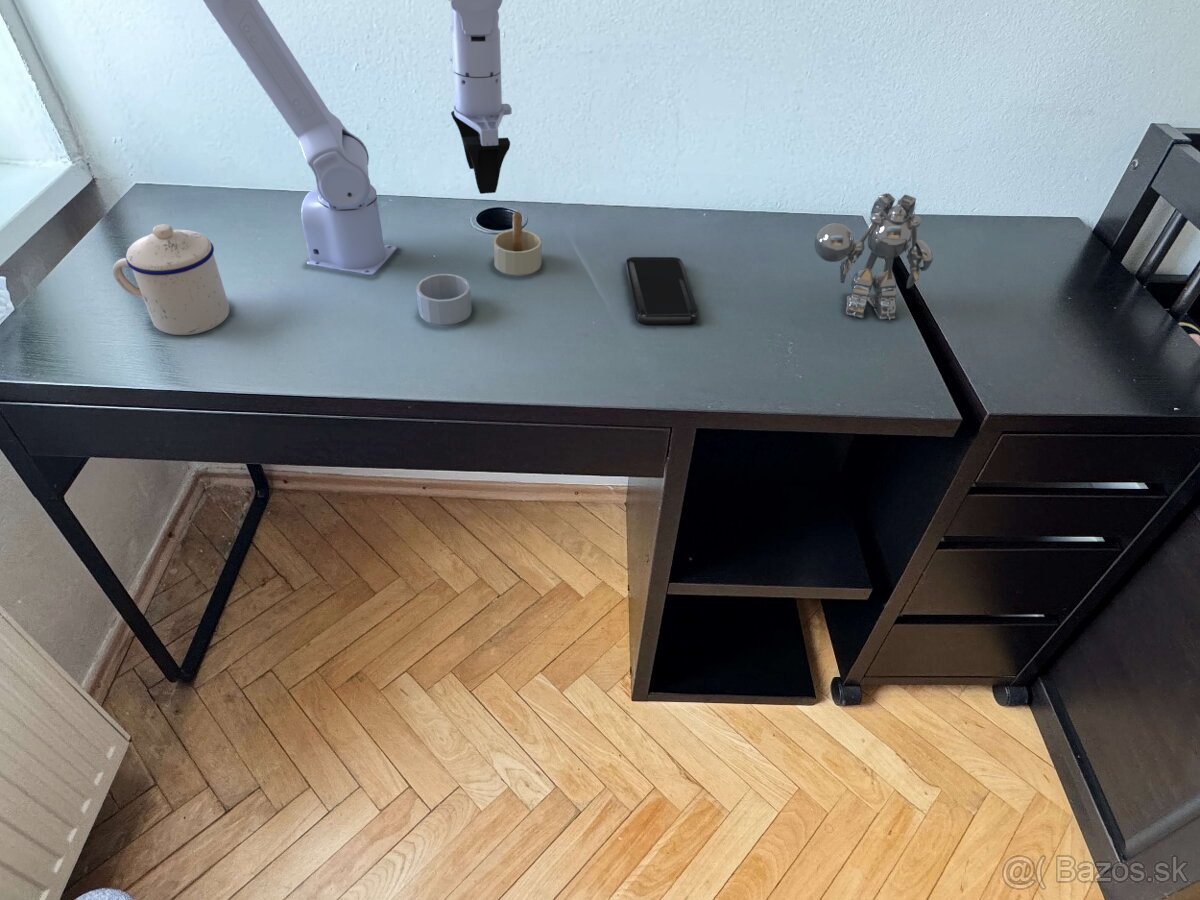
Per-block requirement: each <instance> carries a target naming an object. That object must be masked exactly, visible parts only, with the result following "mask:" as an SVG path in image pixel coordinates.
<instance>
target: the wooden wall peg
mask: <svg viewBox="0 0 1200 900" xmlns="http://www.w3.org/2000/svg"><path fill="white" fill-rule="evenodd" d="M512 230H513V251H522V230H523V215H522V213H521V212H520V211H515V212H513V214H512Z"/></svg>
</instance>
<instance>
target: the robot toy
mask: <svg viewBox="0 0 1200 900" xmlns="http://www.w3.org/2000/svg"><path fill="white" fill-rule="evenodd" d="M916 201H917V198H916V197H914V196H912V195H908V194H903V195H902V197H901V198H898V199H897V202H896V198H895V197H894V196H892V194H890V193H888V192H886V193H883V194H880V195H879V196H878V197H877V199H875V200H874V202H873V204H872V205H873V206H872V208H871V211H870V217H869V220H870V223H869V225H868V226H867V228H866V230H865V231H864V232H863V234H862V235H861V237H860V239H856V240H855V239H854V235H853V232H852V230H851V229H850V228H849V227H848V226H846V225H844V224H842V223H838V222H836V223H835V222H833V223H829V224H826V225H825V226H823V227H822V228H821V229H819V230H818V232H817V234H816V236H815V239H814V251H815V253H816V254H817V255H818V256H819V258H820V259H822V260H823V261H825V262H829V263H837V262H840V261H841V263H840V265H839V280H840V281H839V282H840V283H841V284H845V282H846V278H847V275H848V273H849V272H850V271H851V269H852V266H853V264H855V263H856V262H857V260H858V259H859V258H860V257H861V256H862V255H863V253H864V250H865V246H866V245H865V241H866V239H867V247H868V249H869V250H870V254H869V256H868V258H867V260H866V263H865V265H864V268H861V269H859V270H858V271H856V272H855V273H854V274H853V277H852V280H851V282H850V286H851V290H852V293H850V294H849V295H847V296H846V306H845V314H846V315H847V316H850V317H851V316H852V317H856V318H859V319H864V318H865V309H866V306H867V302H868V303H869V305H870V306H871V307H873V310H874V313H875V314H876V316H877V317H878V320H894V319H896V316H895V315H896V310H897V305H896V298H897V297H896V296H897V280H896V277H895V274H894V272H893V264H894V259H895V258H898V257H900V256H901V255H902V254H903V253H906V252H907V254H906V259H907V261H908V264H909V271H910V273H909V276H908V278H907V280H906V289H911V288H912V287H913V286H914V284H915V283H916V281H919V280H920V273H921V272H925V271H927V270H928V269H929V268H930V266H931V264H932V263H933V252H932V250H931V248H930V246H929V245H928V244H927V243H926V242H925V241H923V240H922V239H918V228H919V226H921V223H922V218H921V217H920V216H918V215H916V211H915V210H916V207H917V205H918V203H916ZM895 202H896V204H895ZM910 245H911V246H910ZM878 259H882V260H885V261H884V266H883V270H882V271H879V272H878V273H877V274H875V275H874V276H873V272H872V271H873V268H874V266H875V263H876V262H877V260H878ZM842 260H843V261H842ZM872 288H873V291H874V294H873V295H871V296H869V295H870V292H871V290H872Z"/></svg>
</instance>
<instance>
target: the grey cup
mask: <svg viewBox="0 0 1200 900" xmlns="http://www.w3.org/2000/svg"><path fill="white" fill-rule="evenodd" d="M471 296H472V295H471V284H470V282H469V281H468V280H467V279H466V278H465V277H462V276H460V275H458V274H454V273H453V274H452V273H436V274H432V275H428V276H426V277H424V278H422V279H421V280H420V281H419V282H418V283H417V284H416V299H417V306H418V307H417V308H418V314H419V316H420V318H422V320H423V321H425V322H427V323H429V324H432V325H437V326H450V325H457V324H458V323H461V322H463V321H465V320H467V319H468V318H469V317H470V316H471V314H472V312H473V309H472V297H471Z"/></svg>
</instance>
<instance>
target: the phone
mask: <svg viewBox="0 0 1200 900" xmlns="http://www.w3.org/2000/svg"><path fill="white" fill-rule="evenodd" d="M625 263H626V264H625V270H626V275H627V276H626V277H627V280H628V285H629V291H630V295H631V300H632V306H633V310H634V315H635V319H636V322H638V323H639V324H642V325H694V324H695V323H697V321H698V317H699V310H698V307H697V303H696V300H695V298H694V294H693V291H692V288H691V285H690V281H689V278H688V275H687V272H686V268H685V266H684V262H683V260H682V259H681V258H680V257H676V256H675V257H674V256H630V257H628V258H627V259H626V262H625Z"/></svg>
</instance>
